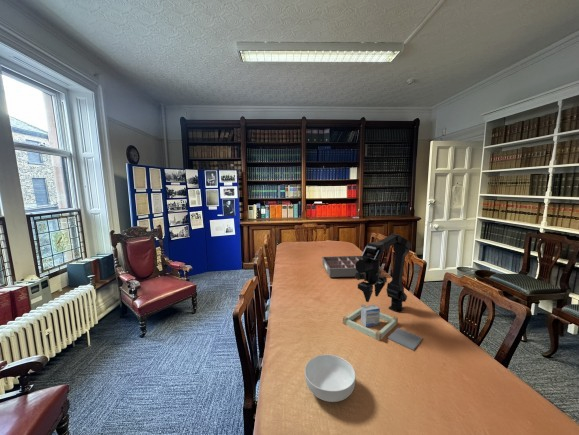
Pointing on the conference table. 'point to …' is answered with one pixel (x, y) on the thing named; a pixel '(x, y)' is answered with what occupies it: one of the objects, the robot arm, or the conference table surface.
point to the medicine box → (370, 315)
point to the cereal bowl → (330, 377)
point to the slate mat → (405, 338)
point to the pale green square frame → (367, 331)
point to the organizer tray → (341, 265)
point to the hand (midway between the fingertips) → (372, 299)
